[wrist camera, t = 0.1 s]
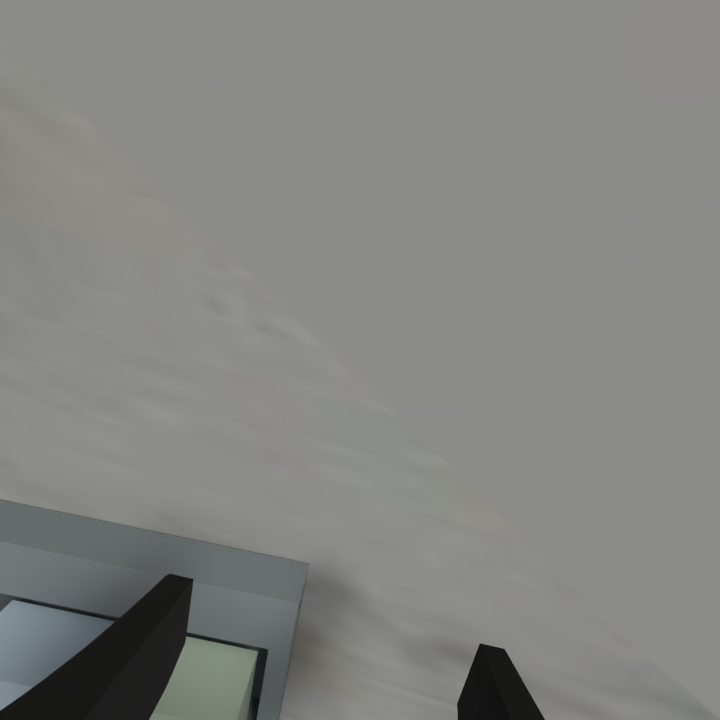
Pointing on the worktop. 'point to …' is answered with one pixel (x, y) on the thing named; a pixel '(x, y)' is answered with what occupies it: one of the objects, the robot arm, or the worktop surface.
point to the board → (144, 570)
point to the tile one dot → (208, 683)
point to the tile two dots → (39, 644)
